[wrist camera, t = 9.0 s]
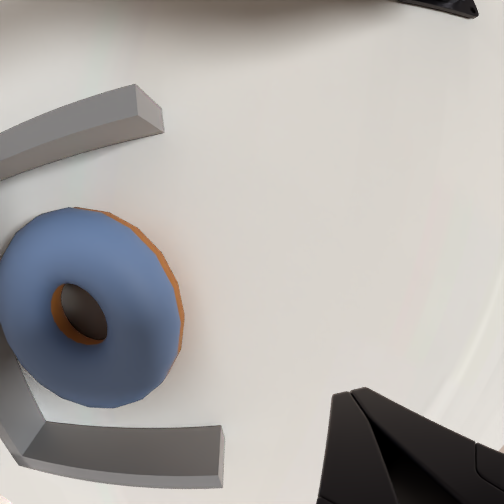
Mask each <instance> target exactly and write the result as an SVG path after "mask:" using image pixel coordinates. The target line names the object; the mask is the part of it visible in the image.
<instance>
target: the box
mask: <svg viewBox="0 0 504 504" xmlns="http://www.w3.org/2000/svg"><path fill="white" fill-rule="evenodd" d="M160 133H164V126H163V117H162V108H161V107H160V106H159V105H158V104H156V103H155V102H154V101H153V100H152V99H151V98H150V97H149V96H148V95H147V94H146V93H145V92H144V91H143V90H142V89H140V88H139V87H138V86H137V85H136V84H133V85H129V86H125V87H122V88H118V89H115V90H111V91H108V92H104V93H101V94H98V95H95V96H92V97H89V98H86V99H83V100H80V101H77V102H74V103H71V104H68V105H65V106H63V107H60V108H57V109H55V110H52V111H50V112H47V113H45V114H42V115H40V116H37V117H35V118H32V119H30V120H28V121H25V122H23V123H21V124H19V125H16V126H14V127H12V128H10V129H8V130H6V131H4V132H1V133H0V181H1V180H4V179H6V178H9V177H11V176H14V175H17V174H19V173H22V172H25V171H28V170H30V169H33V168H36V167H39V166H42V165H45V164H48V163H51V162H54V161H57V160H60V159H63V158H67V157H70V156H73V155H77V154H80V153H83V152H87V151H90V150H94V149H98V148H101V147H105V146H109V145H113V144H117V143H121V142H125V141H129V140H133V139H137V138H142V137H146V136H151V135H155V134H160ZM0 438H1V440H2V441H3V443H4V444H5V446H6V447H7V449H8V450H9V452H10V453H11V455H12V456H13V458H14V459H15V461H16V462H17V464H18V465H19V466H23V467H26V468H30V469H34V470H38V471H42V472H46V473H50V474H55V475H59V476H64V477H69V478H74V479H80V480H86V481H92V482H99V483H106V484H114V485H123V486H134V487H147V488H168V489H209V488H223V473H224V450H225V437H224V434H223V430H222V427H221V426H210V427H193V428H159V429H144V428H111V427H94V426H82V425H71V424H62V423H54V422H46V420H45V419H44V417H43V415H42V413H41V411H40V409H39V407H38V405H37V403H36V401H35V399H34V397H33V395H32V393H31V391H30V389H29V387H28V385H27V383H26V380H25V378H24V376H23V374H22V371H21V369H20V367H19V364H18V362H17V360H16V357H15V355H14V352H13V351H12V349H11V347H10V346H9V344H8V342H7V340H6V337H5V334H4V331H3V328H2V325H1V323H0Z"/></svg>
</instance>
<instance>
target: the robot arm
mask: <svg viewBox="0 0 504 504" xmlns="http://www.w3.org/2000/svg"><path fill="white" fill-rule="evenodd" d="M398 1H401V2H406V3H411V4H416V5H421V6H426V7H431V8H435V9H439V10H443V11H447V12H451V13H455V14H458V15H462V16H465V17H469V18H472V19H474V18H476V17H477V16H478V15H479V14H478V10H477V8H476V5H475V3H474V1H473V0H398ZM316 504H504V453H501V452H499V451H496V450H494V449H491V448H489V447H487V446H484V445H482V444H480V443H476V444H475V441H473V440H471V439H469V438H467V437H464V436H462V435H460V434H458V433H456V432H454V431H452V430H450V429H447V428H445V427H443V426H441V425H439V424H437V423H435V422H433V421H431V420H429V419H427V418H425V417H423V416H421V415H419V414H417V413H415V412H413V411H411V410H409V409H407V408H405V407H403V406H401V405H399V404H397V403H395V402H394V401H392V400H390V399H388V398H386V397H384V396H382V395H380V394H378V393H376V392H375V391H373V390H371V389H369V388H367V387H363V388H359V389H354V390H351V391H350V392H347V391H346V392H341V393H337V394H333V396H332V400H331V410H330V418H329V426H328V434H327V442H326V449H325V456H324V462H323V469H322V475H321V481H320V487H319V493H318V499H317V502H316Z"/></svg>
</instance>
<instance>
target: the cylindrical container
mask: <svg viewBox="0 0 504 504" xmlns="http://www.w3.org/2000/svg"><path fill="white" fill-rule="evenodd" d="M0 504H12V503H11V502H10V501H9V500H7V499H6V498H4V497H3V496H1V495H0Z"/></svg>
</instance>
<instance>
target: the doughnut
mask: <svg viewBox="0 0 504 504" xmlns="http://www.w3.org/2000/svg"><path fill="white" fill-rule="evenodd" d="M66 283H70V284H74V285H78V286H79V287H81V288H82V289H84V290H86V291H87V292H88V293H89V294H90V295H91V296H92V297H93V298H94V299H95V300H96V301H97V303H98V304H99V306H100V308H101V309H102V311H103V313H104V315H105V318H106V321H107V337H106V339H103V340H95V339H91V338H88V337H86V336H84V335H83V334H81V333H80V332H78V331H77V330H76V329H75V328H74V327H73V326H72V325H71V324H70V322H69V321H68V319H67V317H66V315H65V314H64V311H63V307H62V304H61V293H62V289H63V287H64V285H65V284H66ZM0 323H1V325H2V328H3V331H4V334H5V337H6V340H7V342H8V344H9V346H10V347H11V349H12V351H13V352H14V354H15V355H16V357H17V359H18V360H19V362H20V363H21V365H22V366H23V367H24V368H25V369H26V370H27V371H28V372H29V373H30V374H31V375H32V376H33V377H34V378H35V379H36V380H37V381H38V382H39V383H40V384H41V385H42V386H44V387H45V388H47V389H49V390H50V391H52V392H53V393H55V394H56V395H58V396H59V397H61V398H63V399H66V400H69V401H72V402H75V403H78V404H81V405H84V406H87V407H94V408H116V407H120V406H123V405H126V404H129V403H133V402H136V401H138V400H141V399H143V398H144V397H145V396H147V395H148V394H149V393H150V392H151V391H153V390H154V389H155V388H156V387H157V386H159V385H160V384H161V383H162V382H163V380H164V379H165V377H166V376H167V374H168V373H169V371H170V369H171V367H172V365H173V363H174V361H175V359H176V358H177V356H178V354H179V352H180V350H181V344H182V335H183V327H184V310H183V306H182V301H181V296H180V291H179V286H178V282H177V280H176V279H175V277H174V275H173V273H172V271H171V269H170V267H169V266H168V264H167V262H166V260H165V258H164V256H163V254H162V252H161V251H160V250H159V249H158V248H157V247H156V246H155V245H154V244H153V243H152V242H151V241H150V240H149V239H148V238H147V237H146V236H145V235H144V234H143V233H142V232H141V231H140V230H139V229H138V228H137V227H135V226H133V225H131V224H130V223H128V222H126V221H124V220H122V219H120V218H119V217H117V216H115V215H113V214H111V213H110V212H104V211H98V210H91V209H85V208H79V207H74V208H70V207H68V208H64V209H59V210H55V211H51V212H47V213H43V214H41V215H39V216H37V217H36V218H34V219H33V220H32V221H30V222H29V223H28V224H27V225H25V226H24V227H23V228H21V229H20V230H19V231H18V232H16V234H15V236H14V237H13V239H12V241H11V242H10V244H9V246H8V248H7V249H6V251H5V253H4V255H3V257H2V259H1V260H0Z"/></svg>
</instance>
